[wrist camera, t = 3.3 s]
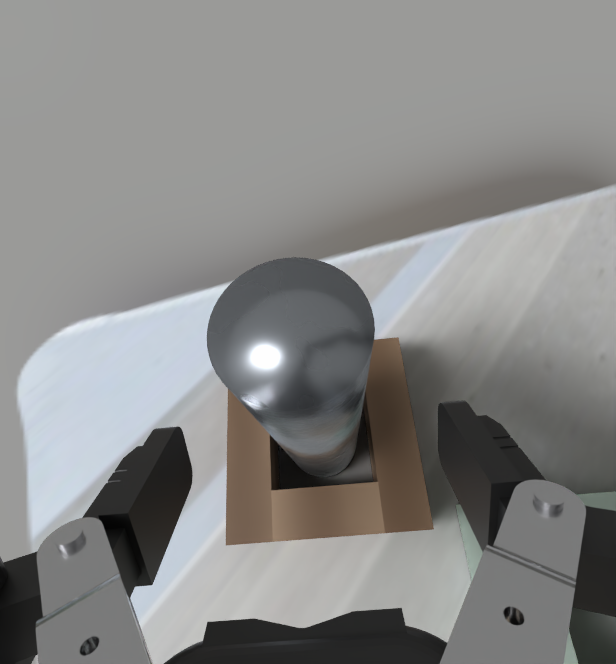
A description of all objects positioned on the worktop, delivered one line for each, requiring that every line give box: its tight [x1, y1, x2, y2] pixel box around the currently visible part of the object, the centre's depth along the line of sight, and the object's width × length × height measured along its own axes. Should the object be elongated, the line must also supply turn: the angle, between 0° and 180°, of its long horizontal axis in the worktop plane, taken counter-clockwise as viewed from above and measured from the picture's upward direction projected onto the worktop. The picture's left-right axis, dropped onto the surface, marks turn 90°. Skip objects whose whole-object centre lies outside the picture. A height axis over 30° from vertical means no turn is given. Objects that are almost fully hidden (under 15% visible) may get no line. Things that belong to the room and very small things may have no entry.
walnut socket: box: [226, 338, 434, 545], centre depth 23 cm, size 10×10×3 cm
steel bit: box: [207, 258, 375, 477], centre depth 17 cm, size 4×4×16 cm
